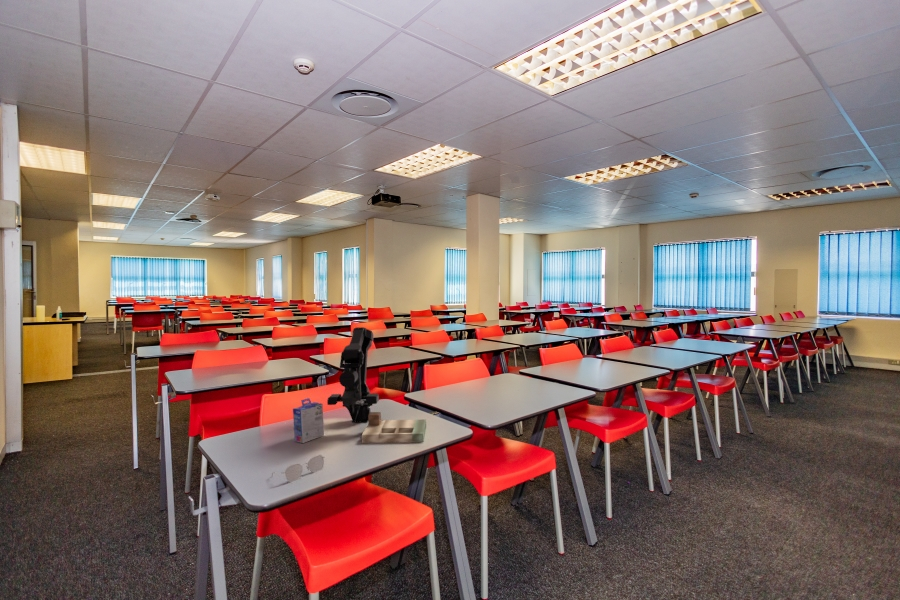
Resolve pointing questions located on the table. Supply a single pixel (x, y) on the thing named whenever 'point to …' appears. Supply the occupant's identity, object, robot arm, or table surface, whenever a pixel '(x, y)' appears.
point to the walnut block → (374, 418)
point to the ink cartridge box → (308, 421)
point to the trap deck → (395, 431)
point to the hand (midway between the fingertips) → (354, 421)
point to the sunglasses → (296, 469)
